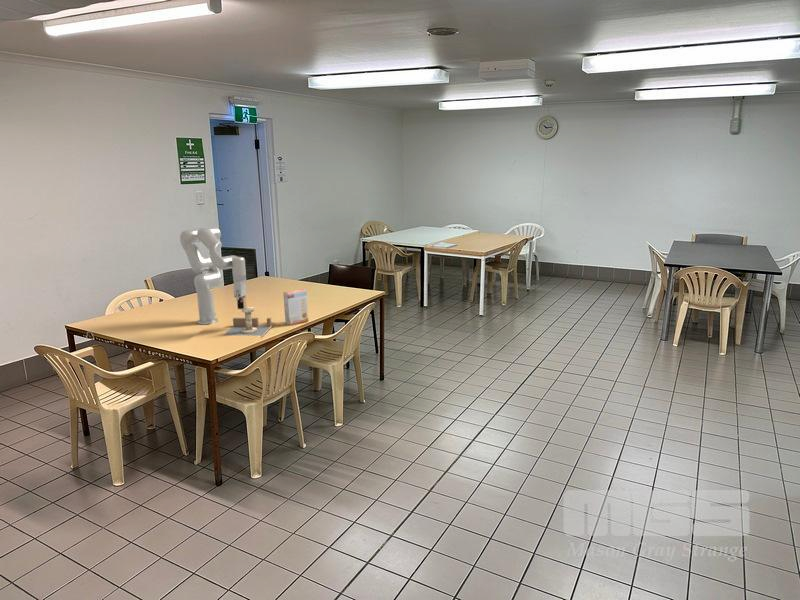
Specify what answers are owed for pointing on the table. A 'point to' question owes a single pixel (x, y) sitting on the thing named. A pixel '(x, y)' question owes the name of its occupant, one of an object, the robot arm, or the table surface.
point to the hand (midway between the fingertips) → (241, 307)
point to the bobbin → (248, 320)
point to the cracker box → (295, 307)
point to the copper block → (243, 301)
